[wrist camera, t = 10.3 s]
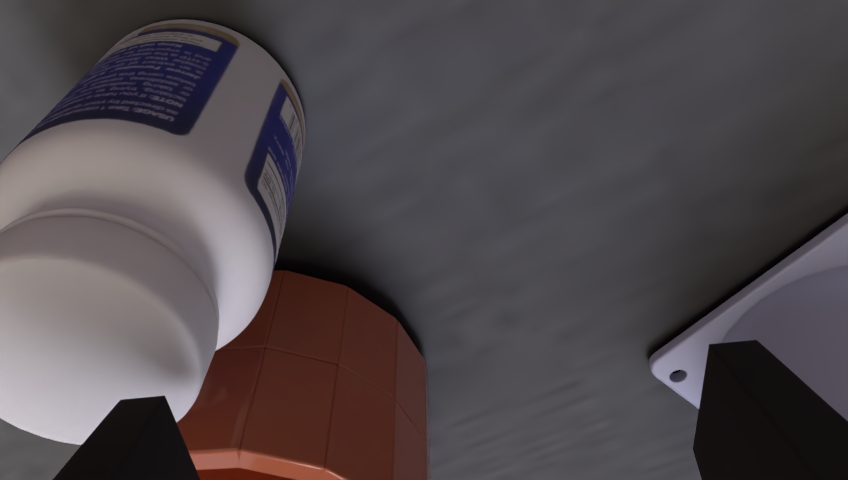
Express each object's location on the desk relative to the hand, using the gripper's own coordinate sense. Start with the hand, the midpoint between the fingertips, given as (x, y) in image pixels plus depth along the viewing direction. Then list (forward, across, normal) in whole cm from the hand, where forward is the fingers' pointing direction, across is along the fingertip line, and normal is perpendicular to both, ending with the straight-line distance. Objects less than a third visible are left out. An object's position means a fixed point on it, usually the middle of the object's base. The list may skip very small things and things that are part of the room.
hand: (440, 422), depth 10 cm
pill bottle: (+11, +6, 0) cm, 12 cm away
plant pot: (+10, +5, +9) cm, 15 cm away
